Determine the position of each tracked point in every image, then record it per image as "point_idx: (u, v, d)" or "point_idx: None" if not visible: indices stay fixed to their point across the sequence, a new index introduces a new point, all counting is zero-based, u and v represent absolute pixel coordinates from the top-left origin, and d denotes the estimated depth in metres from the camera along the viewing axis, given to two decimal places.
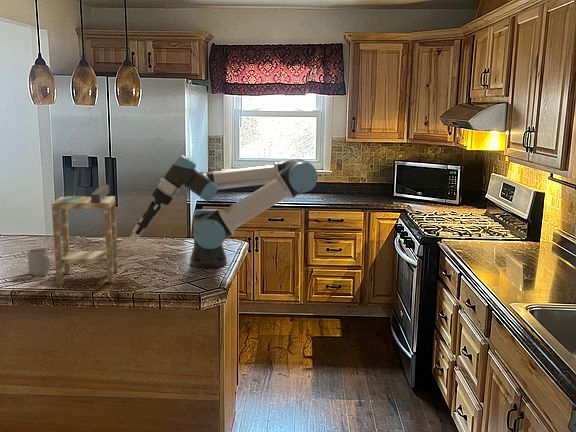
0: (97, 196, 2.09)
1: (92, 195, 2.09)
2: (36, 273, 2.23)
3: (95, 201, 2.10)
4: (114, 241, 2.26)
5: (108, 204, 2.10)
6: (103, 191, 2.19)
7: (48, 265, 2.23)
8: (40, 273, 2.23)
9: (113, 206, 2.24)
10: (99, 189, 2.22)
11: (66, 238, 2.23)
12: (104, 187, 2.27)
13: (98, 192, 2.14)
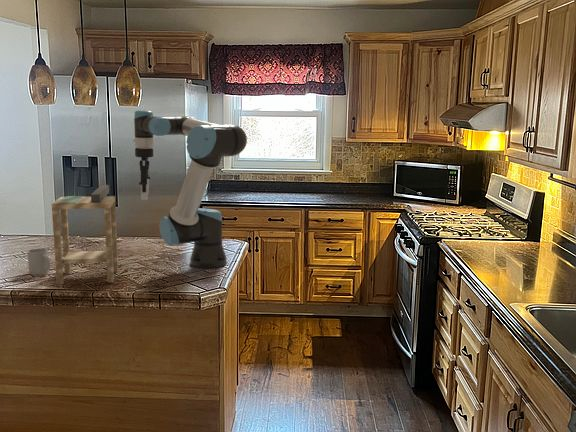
0: (97, 196, 2.09)
1: (92, 195, 2.09)
2: (36, 273, 2.23)
3: (95, 201, 2.10)
4: (114, 241, 2.26)
5: (108, 204, 2.10)
6: (103, 191, 2.19)
7: (48, 265, 2.23)
8: (40, 273, 2.23)
9: (113, 206, 2.24)
10: (99, 189, 2.22)
11: (66, 238, 2.23)
12: (104, 187, 2.27)
13: (98, 192, 2.14)
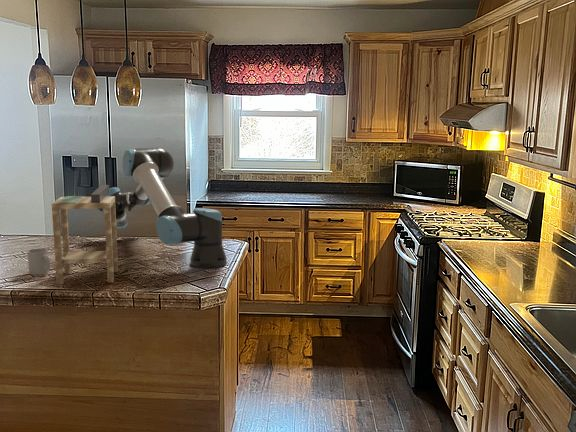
0: (97, 196, 2.09)
1: (92, 195, 2.09)
2: (36, 273, 2.23)
3: (95, 201, 2.10)
4: (114, 241, 2.26)
5: (108, 204, 2.10)
6: (103, 191, 2.19)
7: (48, 265, 2.23)
8: (40, 273, 2.23)
9: (113, 206, 2.24)
10: (99, 189, 2.22)
11: (66, 238, 2.23)
12: (104, 187, 2.27)
13: (98, 192, 2.14)
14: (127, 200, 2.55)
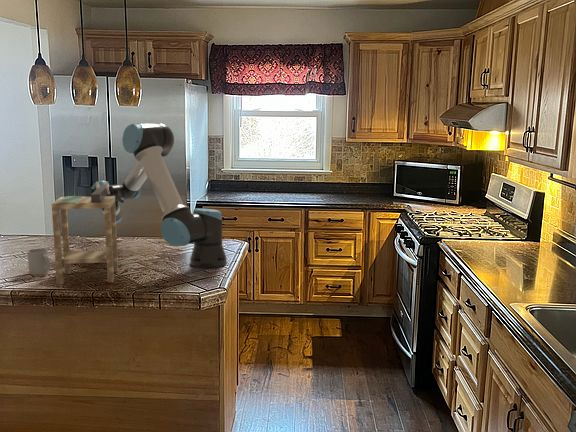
0: (97, 196, 2.09)
1: (92, 195, 2.09)
2: (36, 273, 2.23)
3: (95, 201, 2.10)
4: (114, 241, 2.26)
5: (108, 204, 2.10)
6: (103, 191, 2.19)
7: (48, 265, 2.23)
8: (40, 273, 2.23)
9: (113, 206, 2.24)
10: (99, 189, 2.22)
11: (66, 238, 2.23)
12: (104, 187, 2.27)
13: (98, 192, 2.14)
14: (107, 190, 2.28)
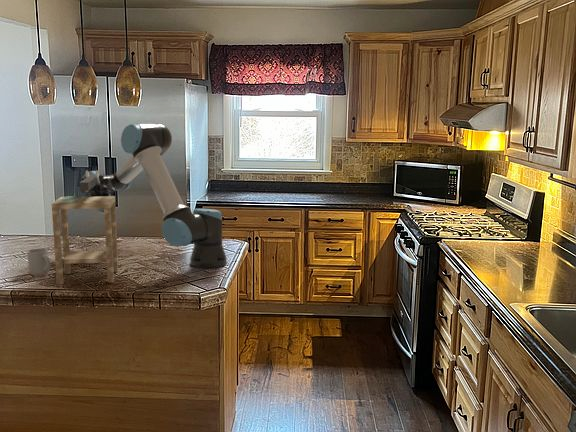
0: (86, 184, 2.09)
1: (81, 183, 2.08)
2: (36, 273, 2.23)
3: (84, 189, 2.09)
4: (114, 241, 2.26)
5: (108, 204, 2.10)
6: (92, 180, 2.18)
7: (48, 265, 2.23)
8: (40, 273, 2.23)
9: (113, 206, 2.24)
10: (89, 178, 2.21)
11: (66, 238, 2.23)
12: (94, 176, 2.26)
13: (87, 180, 2.13)
14: (97, 179, 2.27)
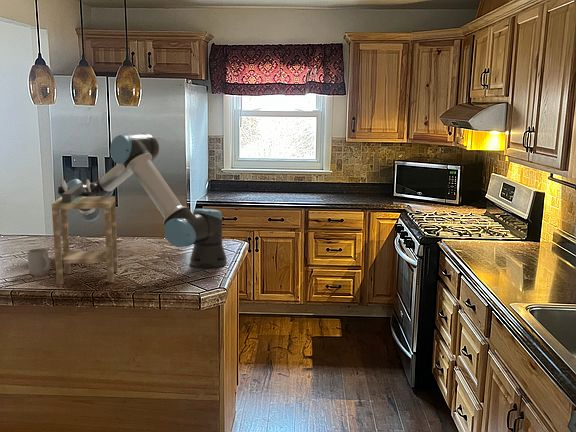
0: (68, 196, 2.08)
1: (63, 195, 2.07)
2: (36, 273, 2.23)
3: (66, 201, 2.08)
4: (114, 241, 2.26)
5: (108, 204, 2.10)
6: (75, 191, 2.18)
7: (48, 265, 2.23)
8: (40, 273, 2.23)
9: (113, 206, 2.24)
10: (72, 189, 2.20)
11: (66, 238, 2.23)
12: (77, 187, 2.26)
13: (70, 192, 2.12)
14: (88, 187, 2.27)
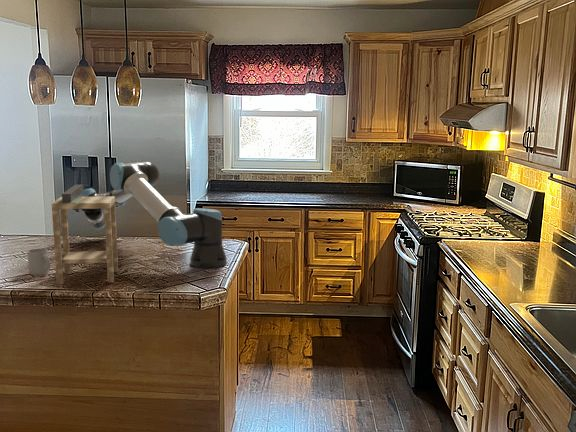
0: (68, 196, 2.08)
1: (63, 195, 2.07)
2: (36, 273, 2.23)
3: (66, 201, 2.08)
4: (114, 241, 2.26)
5: (108, 204, 2.10)
6: (75, 191, 2.18)
7: (48, 265, 2.23)
8: (40, 273, 2.23)
9: (113, 206, 2.24)
10: (72, 189, 2.20)
11: (66, 238, 2.23)
12: (77, 187, 2.26)
13: (70, 192, 2.12)
14: None
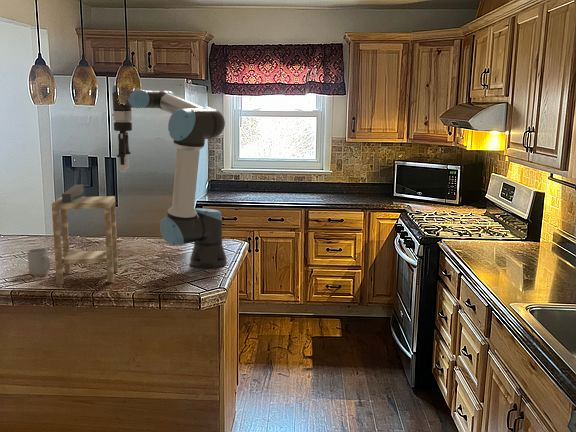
0: (68, 196, 2.08)
1: (63, 195, 2.07)
2: (36, 273, 2.23)
3: (66, 201, 2.08)
4: (114, 241, 2.26)
5: (108, 204, 2.10)
6: (75, 191, 2.18)
7: (48, 265, 2.23)
8: (40, 273, 2.23)
9: (113, 206, 2.24)
10: (72, 189, 2.20)
11: (66, 238, 2.23)
12: (77, 187, 2.26)
13: (70, 192, 2.12)
14: None
